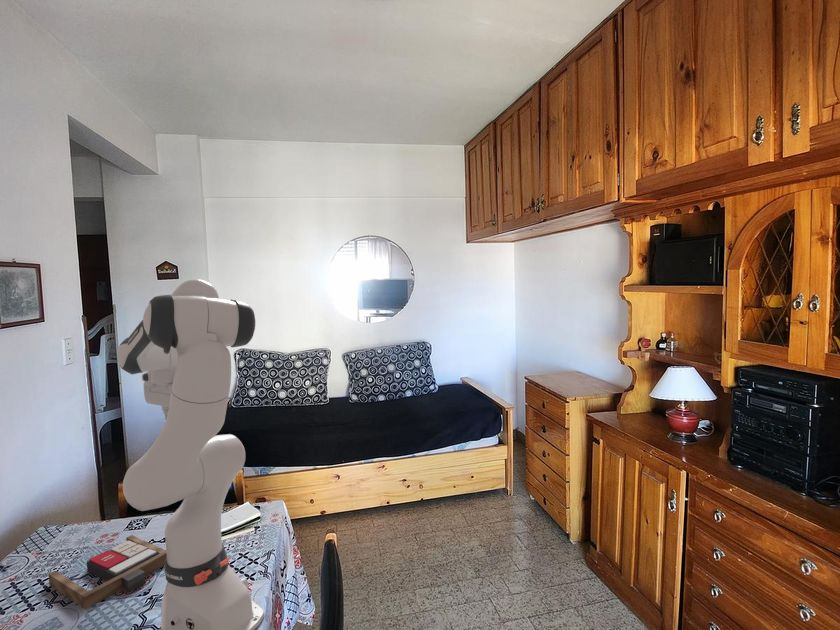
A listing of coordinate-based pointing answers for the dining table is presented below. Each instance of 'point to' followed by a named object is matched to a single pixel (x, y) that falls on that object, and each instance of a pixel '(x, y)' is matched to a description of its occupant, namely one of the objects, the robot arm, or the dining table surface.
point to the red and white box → (119, 560)
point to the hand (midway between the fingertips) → (170, 420)
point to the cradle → (122, 581)
